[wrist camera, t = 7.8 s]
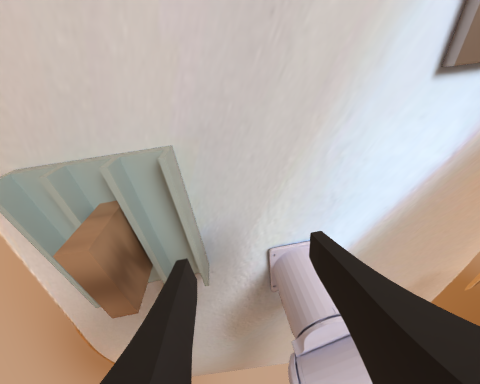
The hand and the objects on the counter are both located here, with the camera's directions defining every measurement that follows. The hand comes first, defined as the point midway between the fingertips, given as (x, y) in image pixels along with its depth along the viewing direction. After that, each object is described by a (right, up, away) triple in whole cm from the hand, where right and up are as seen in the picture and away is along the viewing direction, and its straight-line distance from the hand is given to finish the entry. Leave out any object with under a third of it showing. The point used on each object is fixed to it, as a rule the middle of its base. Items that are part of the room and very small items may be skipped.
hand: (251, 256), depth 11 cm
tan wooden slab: (-12, 0, +8) cm, 14 cm away
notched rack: (-12, 0, +9) cm, 15 cm away
